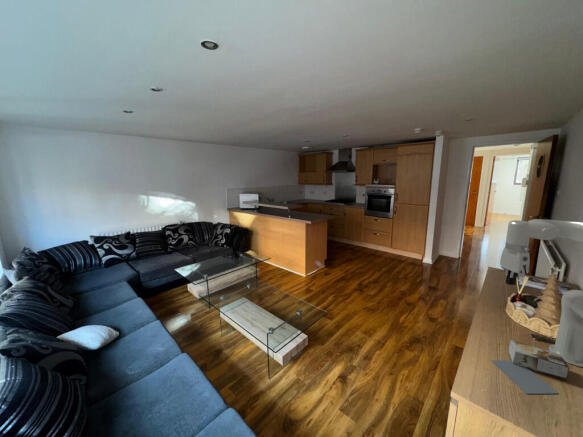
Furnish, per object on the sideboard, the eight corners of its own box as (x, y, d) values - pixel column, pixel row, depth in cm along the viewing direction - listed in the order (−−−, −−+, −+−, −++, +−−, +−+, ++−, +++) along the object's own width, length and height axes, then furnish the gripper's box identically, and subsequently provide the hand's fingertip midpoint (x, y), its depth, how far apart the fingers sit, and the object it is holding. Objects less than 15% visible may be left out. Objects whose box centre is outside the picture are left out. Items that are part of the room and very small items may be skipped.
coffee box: (512, 363, 101) (566, 382, 92) (514, 350, 100) (570, 368, 91) (508, 350, 108) (558, 366, 99) (510, 338, 107) (561, 353, 98)
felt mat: (518, 360, 103) (518, 360, 103) (558, 393, 87) (558, 393, 87) (491, 360, 103) (491, 360, 103) (526, 394, 87) (526, 393, 87)
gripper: (541, 252, 98) (534, 291, 102) (509, 242, 113) (504, 277, 116) (523, 252, 99) (517, 291, 102) (494, 242, 113) (489, 277, 116)
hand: (510, 284), depth 109 cm, fingers closed
